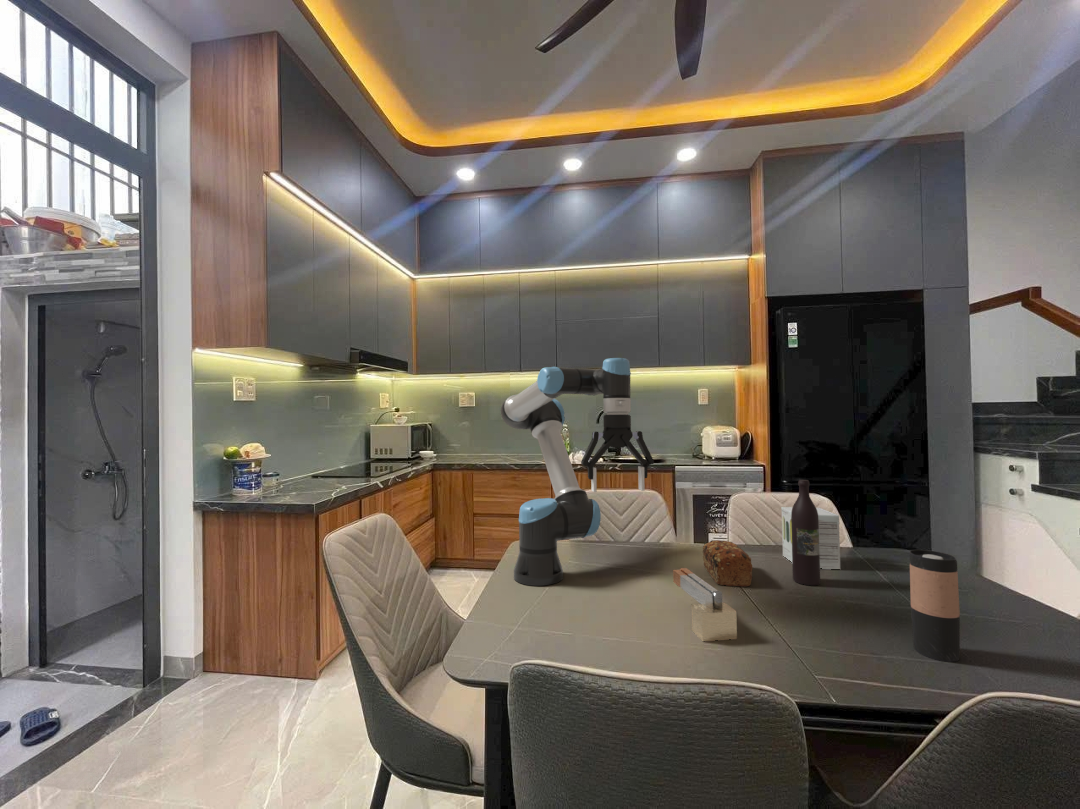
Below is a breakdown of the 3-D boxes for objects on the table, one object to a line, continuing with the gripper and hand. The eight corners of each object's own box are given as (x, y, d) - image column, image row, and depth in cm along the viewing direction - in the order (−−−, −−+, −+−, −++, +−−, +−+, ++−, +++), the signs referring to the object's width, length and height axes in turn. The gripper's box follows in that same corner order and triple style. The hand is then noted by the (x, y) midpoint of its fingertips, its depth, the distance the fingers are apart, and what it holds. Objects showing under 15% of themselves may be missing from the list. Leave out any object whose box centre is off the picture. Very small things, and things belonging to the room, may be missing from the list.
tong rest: (665, 605, 118) (665, 570, 118) (694, 603, 119) (694, 568, 119) (702, 641, 99) (701, 599, 99) (736, 639, 100) (736, 597, 100)
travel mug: (902, 644, 97) (899, 550, 97) (935, 643, 97) (932, 548, 98) (936, 663, 89) (932, 561, 90) (972, 661, 90) (968, 559, 90)
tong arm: (679, 580, 119) (679, 568, 119) (687, 580, 119) (686, 567, 119) (715, 608, 101) (715, 594, 101) (724, 608, 101) (723, 593, 101)
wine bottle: (794, 584, 132) (791, 481, 133) (791, 576, 139) (788, 478, 140) (822, 587, 130) (819, 482, 131) (817, 579, 136) (815, 479, 137)
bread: (753, 588, 130) (752, 553, 130) (714, 586, 132) (714, 551, 132) (735, 567, 148) (734, 536, 149) (701, 566, 150) (701, 535, 150)
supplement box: (781, 556, 159) (780, 506, 160) (821, 557, 158) (820, 507, 158) (797, 568, 146) (796, 514, 147) (841, 570, 145) (840, 515, 145)
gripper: (576, 413, 121) (576, 494, 120) (665, 413, 124) (666, 491, 123) (570, 414, 128) (570, 489, 127) (654, 414, 132) (655, 487, 131)
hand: (617, 490), depth 125 cm, fingers open, 13 cm apart
